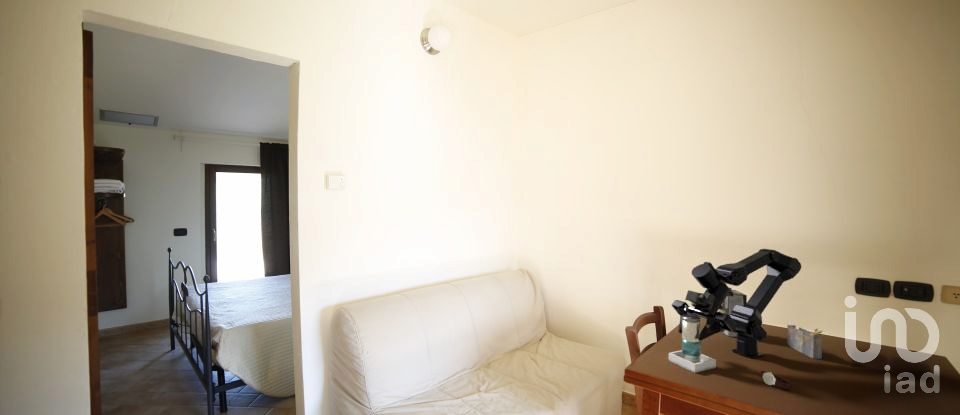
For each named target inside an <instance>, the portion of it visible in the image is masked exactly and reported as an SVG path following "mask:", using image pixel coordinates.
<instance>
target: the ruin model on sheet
mask: <svg viewBox="0 0 960 415" xmlns="http://www.w3.org/2000/svg"><path fill="white" fill-rule="evenodd" d="M786 326H787V329H786V334H787V335H786V336H787V337H786V346H788V347H789V348H791V349H794V350H796V351H798V352H799V353H802V354H803V355H806V357H809V358H811V359H814V360H822V350H823V348H822V347H823V337H822V336H818V335H819V334H822V333H823V331H824V330H819V327H818V328H814V331H812V332H811V331H810V330H807V329H804V328H802V327H798V328H797V325H795V324H793V325H792V324H787V325H786Z"/></svg>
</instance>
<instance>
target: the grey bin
mask: <svg viewBox="0 0 960 415" xmlns="http://www.w3.org/2000/svg"><path fill="white" fill-rule="evenodd" d="M668 362H670V363H672V364H676V365H677V366H679V367H681V368H684V369H686V370H688V371H690V372H692V373H695V374H696V373H699V372H704V371H707V370H713V369H716V368H717V367H716V362H717V360H716V359H715V358H712V357H710V356H707V355H705V354H702V353H701V362H699V363H692V362H690V361H688V360H686V359H683V357H682V349H680V350H676V351H671V352H668Z"/></svg>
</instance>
